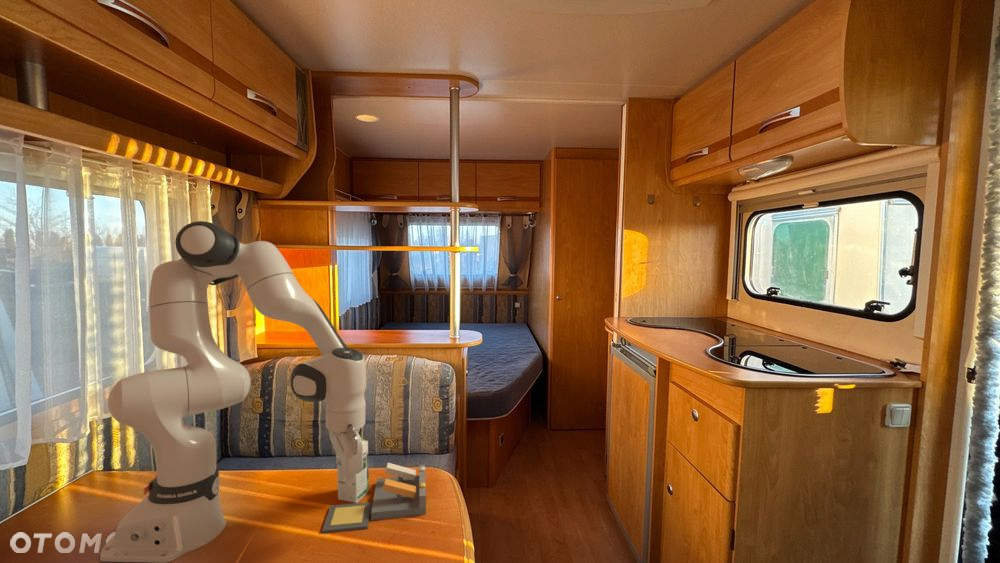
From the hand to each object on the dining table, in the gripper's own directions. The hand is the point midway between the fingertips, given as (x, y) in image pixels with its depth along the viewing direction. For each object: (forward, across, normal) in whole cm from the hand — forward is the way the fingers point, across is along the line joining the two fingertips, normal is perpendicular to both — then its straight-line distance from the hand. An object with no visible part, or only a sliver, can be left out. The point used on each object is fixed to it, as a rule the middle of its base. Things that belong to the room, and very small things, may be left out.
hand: (344, 473), depth 104 cm
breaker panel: (+11, +1, -14) cm, 18 cm away
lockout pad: (+12, 0, -1) cm, 12 cm away
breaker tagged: (+6, -2, -13) cm, 15 cm away
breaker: (+6, +6, -16) cm, 18 cm away
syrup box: (+12, +9, -4) cm, 16 cm away
